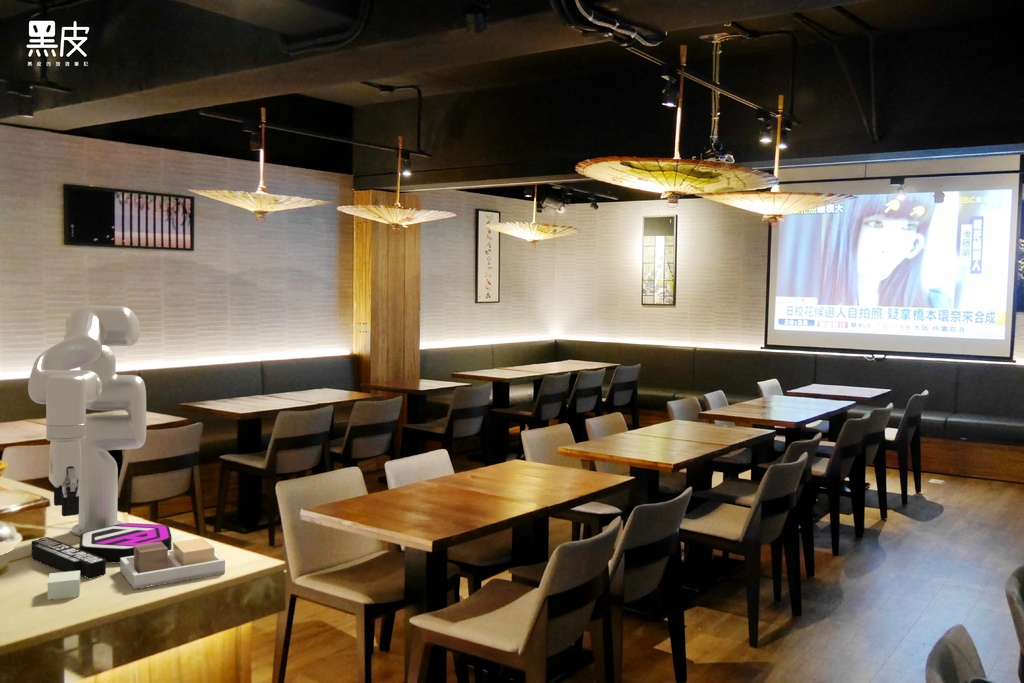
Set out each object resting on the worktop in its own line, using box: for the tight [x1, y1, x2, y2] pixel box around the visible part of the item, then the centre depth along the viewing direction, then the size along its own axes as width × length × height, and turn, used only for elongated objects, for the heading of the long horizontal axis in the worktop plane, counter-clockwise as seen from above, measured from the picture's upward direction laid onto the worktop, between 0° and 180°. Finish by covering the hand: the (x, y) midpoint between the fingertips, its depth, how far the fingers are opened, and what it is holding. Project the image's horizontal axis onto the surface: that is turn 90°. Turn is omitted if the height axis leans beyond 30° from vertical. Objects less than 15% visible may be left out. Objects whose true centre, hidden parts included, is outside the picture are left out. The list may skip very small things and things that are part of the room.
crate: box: [119, 537, 226, 590], centre depth 196 cm, size 14×20×6 cm
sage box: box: [47, 570, 81, 601], centre depth 181 cm, size 6×6×4 cm
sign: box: [31, 522, 172, 579], centre depth 208 cm, size 27×4×30 cm
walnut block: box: [134, 542, 168, 573], centre depth 193 cm, size 6×6×6 cm
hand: (66, 509), depth 180 cm, fingers open, 9 cm apart
